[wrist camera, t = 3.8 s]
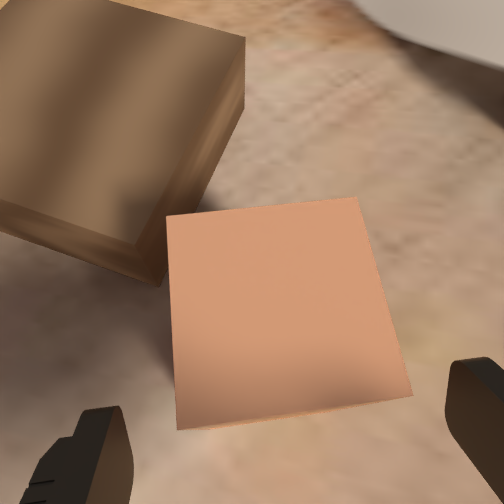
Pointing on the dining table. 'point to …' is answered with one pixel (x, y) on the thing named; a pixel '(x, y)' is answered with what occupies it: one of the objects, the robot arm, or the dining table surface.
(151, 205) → the walnut block
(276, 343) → the peach tall block
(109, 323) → the dining table surface
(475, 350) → the dining table surface
